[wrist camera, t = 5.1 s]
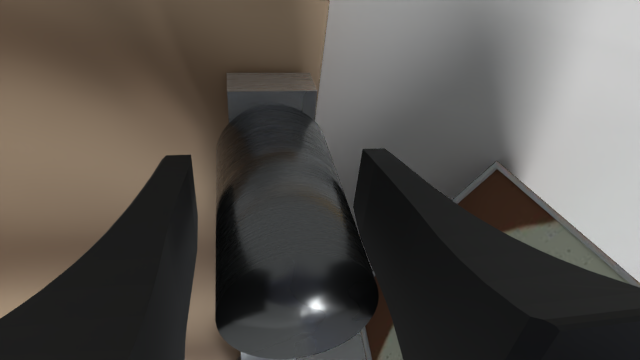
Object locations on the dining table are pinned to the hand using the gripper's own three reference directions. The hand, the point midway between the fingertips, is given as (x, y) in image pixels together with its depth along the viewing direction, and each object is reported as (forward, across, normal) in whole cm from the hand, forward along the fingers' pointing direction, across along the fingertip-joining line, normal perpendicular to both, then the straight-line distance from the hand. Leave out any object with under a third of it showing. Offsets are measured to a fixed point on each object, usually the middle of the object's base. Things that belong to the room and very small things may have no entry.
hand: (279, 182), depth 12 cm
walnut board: (+4, +5, +6) cm, 9 cm away
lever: (+3, 0, +6) cm, 7 cm away
